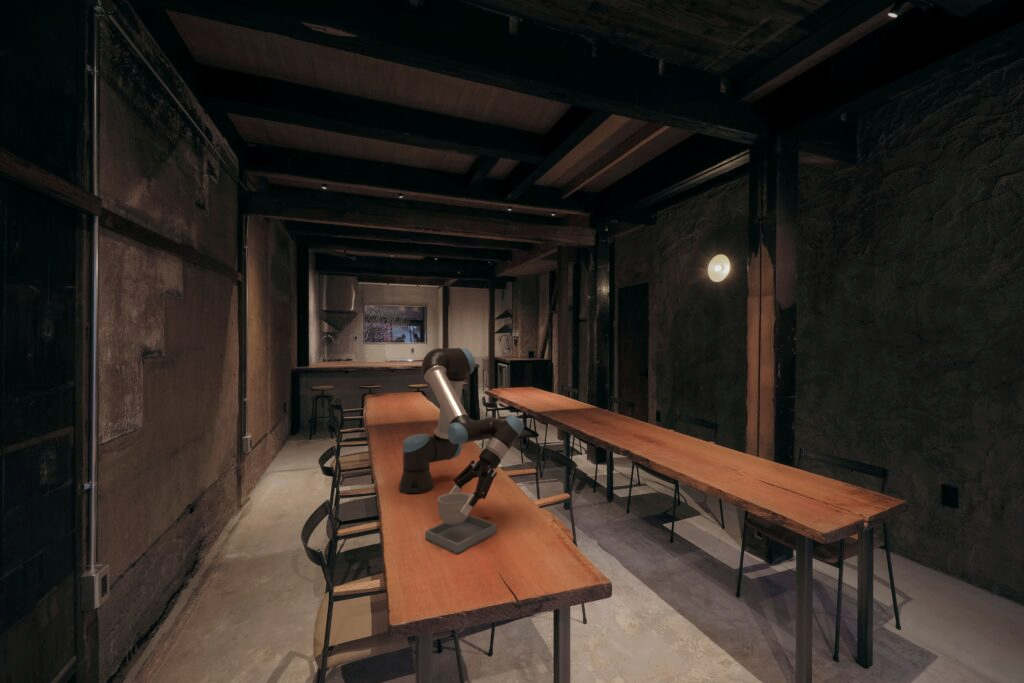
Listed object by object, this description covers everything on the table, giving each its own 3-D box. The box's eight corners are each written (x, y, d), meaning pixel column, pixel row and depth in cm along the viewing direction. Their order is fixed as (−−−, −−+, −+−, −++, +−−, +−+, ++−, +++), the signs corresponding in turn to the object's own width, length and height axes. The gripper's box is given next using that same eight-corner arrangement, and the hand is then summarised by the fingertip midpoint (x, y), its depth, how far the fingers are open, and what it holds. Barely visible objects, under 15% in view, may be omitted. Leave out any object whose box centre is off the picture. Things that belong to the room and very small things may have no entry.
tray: (425, 539, 139) (425, 530, 139) (464, 521, 154) (464, 513, 154) (457, 554, 130) (457, 544, 130) (496, 533, 144) (496, 524, 144)
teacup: (442, 530, 132) (442, 505, 132) (433, 517, 142) (433, 494, 142) (483, 522, 138) (483, 497, 138) (472, 510, 148) (472, 487, 148)
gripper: (519, 467, 141) (480, 526, 132) (482, 453, 160) (445, 503, 151) (506, 454, 138) (465, 513, 129) (470, 441, 157) (432, 492, 147)
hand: (454, 508), depth 140 cm, fingers closed on teacup, 11 cm apart
